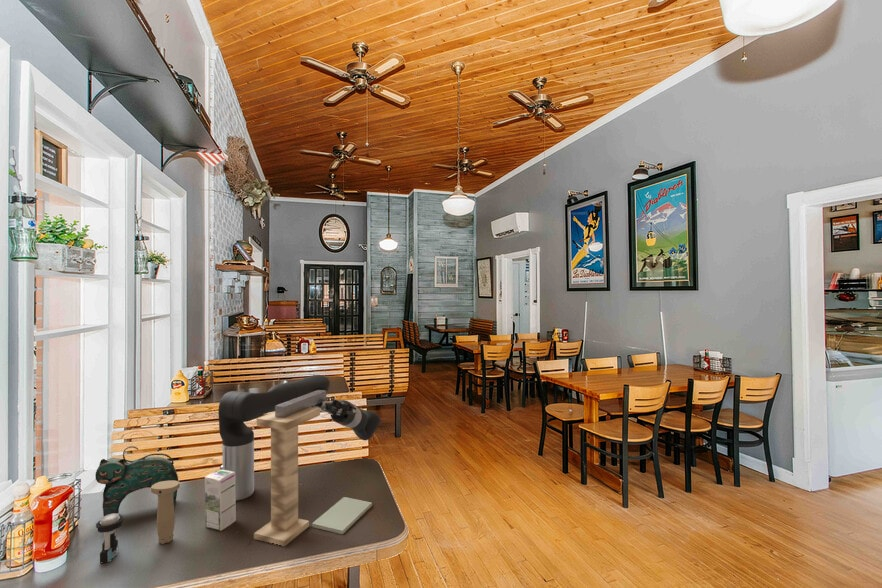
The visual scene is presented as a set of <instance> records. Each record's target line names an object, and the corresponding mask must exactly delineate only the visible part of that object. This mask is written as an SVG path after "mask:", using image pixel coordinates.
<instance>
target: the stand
mask: <svg viewBox="0 0 882 588" xmlns="http://www.w3.org/2000/svg"><path fill="white" fill-rule="evenodd" d="M319 416H321V412H320V408H313V407H309V408H307V409H304V410H302V411H299V412H297V413H295V414H292V415H290V416H287V417H285V418H281V417H275V411H274V412H269V413H267V414H264V415H262V416H260V417H258V418H256V427H262V428H267V429H270V521H269V522H267V523H265V525H263V526H262V527H260V528H259V529H258V530H256V531H255V532H253V539H254V540H258V541H261V542H266V543H268V542H269V544H272V543H274V544H273V545H276V544H278V545H277V546H279V545H281V547H283V548H284V547H286V546H287V545H288V544H290V543H291V542H292V541H293V540H294V539H296V538H297V537H298V536H300V534H302V533H303V532H304V531H305V530H306V529H308V528H309V527H310V521H309V520H307V519H304V518H303V519H302V518H299V426H300V425H301V424H303V423H306V422H308V421H310V420H312V419H316V418H318V417H319Z"/></svg>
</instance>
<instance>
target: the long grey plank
mask: <svg viewBox="0 0 882 588" xmlns="http://www.w3.org/2000/svg"><path fill="white" fill-rule="evenodd" d="M326 400H327V395H326V391H324V390H317V391H314V392H311V393H309V394H306V395H303V396H300V397H298V398H295V399H292V400H289V401H287V402H284V403H281V404H278V405H276V406H275V411H274V412H275V417H281V418H285V417H287V416H290V415H292V414H295V413H297V412H299V411H302V410H304V409H307V408H309V407H312V406H314V405H316V404H319V403H321V402H324V401H326Z"/></svg>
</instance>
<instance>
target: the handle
mask: <svg viewBox="0 0 882 588" xmlns="http://www.w3.org/2000/svg"><path fill="white" fill-rule="evenodd" d="M180 482H181V481H179V480H178V481H174V480H171V481H162V482H158V483H155V484H154V485H152V486H151V488H150V492H151V493H152V494H155V495H157V509H156V510H157V512H156V532H157V542H158V543H160V544H161V545H164V544H167V543H171V541H173V539H174V535H175V534H174V531H175V524H176V522H175V521H176V520H175V518H176V516H175V515H176V514H175V507H174V506H175V504H174V503H173V492H174V491H176V490H177V491H178V490H179V489H180V485H181V483H180Z"/></svg>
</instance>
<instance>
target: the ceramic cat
mask: <svg viewBox="0 0 882 588" xmlns="http://www.w3.org/2000/svg"><path fill="white" fill-rule="evenodd" d="M131 448H133V449H135V450H137V451H138V450H139V448H138V447H137V446H135V445H134V446H133V445H131V446H130V445H129V446H127V447H126V448H124V450H123V452H122V458H119V457H111V458H107V459H105V458H102V459H101V460H100V462H99V464H98V465H99V466H98V467H97V469H96V471H95V473H94V474H95V480H96V482H97V483H99V484H100V485H104V489H103V492H102V514H103V517H104V516H106V515H109V514H113V513H117V514H119V513H120V512H119V511H120V510H119V509H120V505H121V503H122V502H123V501H124V500H125V498H126V497H127V496H129V494H131V493H134V492H136V491H140V490H143V489H147V488H150V489H151V486H152V485H154V484H155V483H158V482H162V481H171V480H174V481H179V476H178V472H177V470H176V468H175V466H174V460H173V458H172V457H171V456H170V455H169V454H166V453H150V454H148V455H144V456H143V457H140V458H138V459H134V460H130V459H129V460H128V459H126V457H125V451H126V450H127V449H131ZM162 456H165V457H167V458H165V457H162ZM169 459H170V460H169ZM177 494H178V489H177V490H176V491H174V492H173V503H174V505H176V502H177Z"/></svg>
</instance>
